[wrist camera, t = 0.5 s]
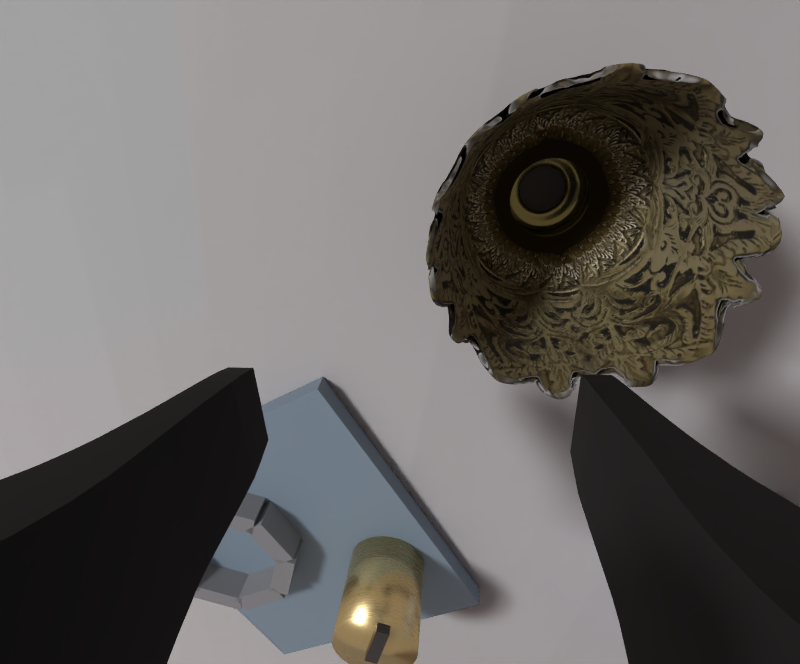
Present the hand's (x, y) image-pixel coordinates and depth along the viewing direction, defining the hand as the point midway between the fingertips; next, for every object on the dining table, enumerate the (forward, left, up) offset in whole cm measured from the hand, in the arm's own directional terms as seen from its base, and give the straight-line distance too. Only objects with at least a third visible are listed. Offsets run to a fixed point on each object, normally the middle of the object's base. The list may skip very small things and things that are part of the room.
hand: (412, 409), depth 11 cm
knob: (-13, +10, -9) cm, 19 cm away
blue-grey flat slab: (-10, +14, -10) cm, 20 cm away
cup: (+1, -5, -10) cm, 11 cm away
